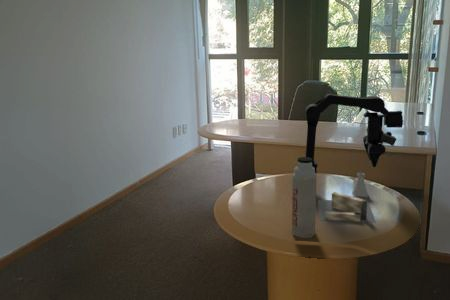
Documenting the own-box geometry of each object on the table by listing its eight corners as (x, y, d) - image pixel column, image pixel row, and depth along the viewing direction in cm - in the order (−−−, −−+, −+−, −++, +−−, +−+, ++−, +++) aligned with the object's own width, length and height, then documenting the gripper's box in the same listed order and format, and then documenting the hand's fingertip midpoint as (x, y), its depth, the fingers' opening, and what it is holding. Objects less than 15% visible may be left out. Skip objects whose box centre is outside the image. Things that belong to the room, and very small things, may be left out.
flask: (366, 192, 178) (367, 171, 175) (370, 199, 171) (371, 176, 168) (349, 192, 179) (350, 171, 176) (352, 198, 172) (354, 176, 169)
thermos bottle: (295, 241, 137) (296, 162, 130) (289, 230, 145) (290, 155, 138) (317, 239, 138) (320, 161, 131) (311, 229, 146) (313, 154, 138)
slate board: (319, 222, 151) (319, 219, 150) (317, 201, 170) (318, 199, 169) (375, 225, 147) (376, 222, 147) (367, 203, 166) (367, 201, 166)
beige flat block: (363, 214, 153) (363, 199, 151) (360, 216, 152) (361, 201, 150) (333, 206, 162) (334, 192, 160) (331, 207, 160) (331, 193, 159)
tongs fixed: (365, 217, 151) (366, 200, 149) (367, 221, 148) (368, 203, 146) (324, 215, 154) (325, 198, 152) (325, 219, 151) (325, 202, 149)
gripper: (400, 132, 156) (397, 171, 160) (390, 123, 173) (388, 157, 177) (370, 132, 158) (368, 170, 162) (363, 122, 176) (361, 157, 180)
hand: (372, 163), depth 170 cm, fingers open, 9 cm apart
